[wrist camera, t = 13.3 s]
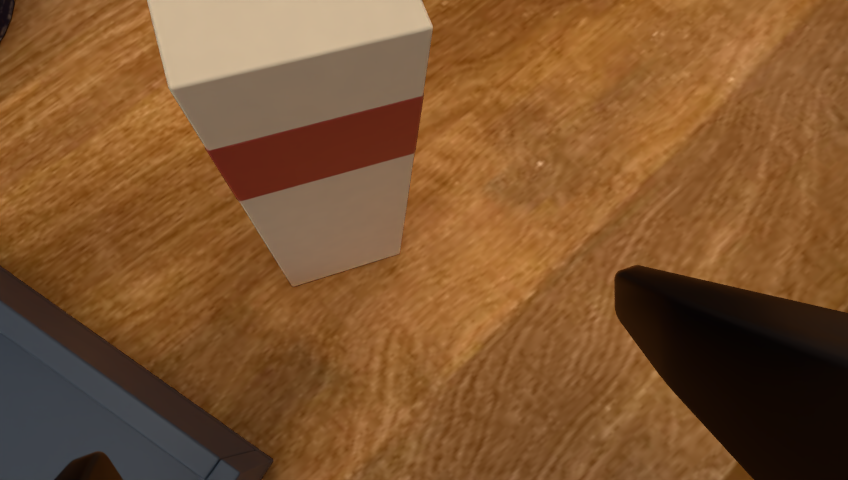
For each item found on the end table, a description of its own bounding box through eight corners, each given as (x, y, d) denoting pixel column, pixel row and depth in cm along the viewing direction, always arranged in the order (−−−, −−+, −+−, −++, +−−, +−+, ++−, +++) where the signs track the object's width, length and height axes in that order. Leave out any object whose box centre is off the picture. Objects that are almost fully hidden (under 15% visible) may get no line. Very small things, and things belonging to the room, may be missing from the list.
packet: (400, 254, 20) (436, 27, 8) (291, 288, 19) (166, 91, 8) (359, 136, 21) (341, -197, 10) (256, 163, 20) (104, -162, 9)
